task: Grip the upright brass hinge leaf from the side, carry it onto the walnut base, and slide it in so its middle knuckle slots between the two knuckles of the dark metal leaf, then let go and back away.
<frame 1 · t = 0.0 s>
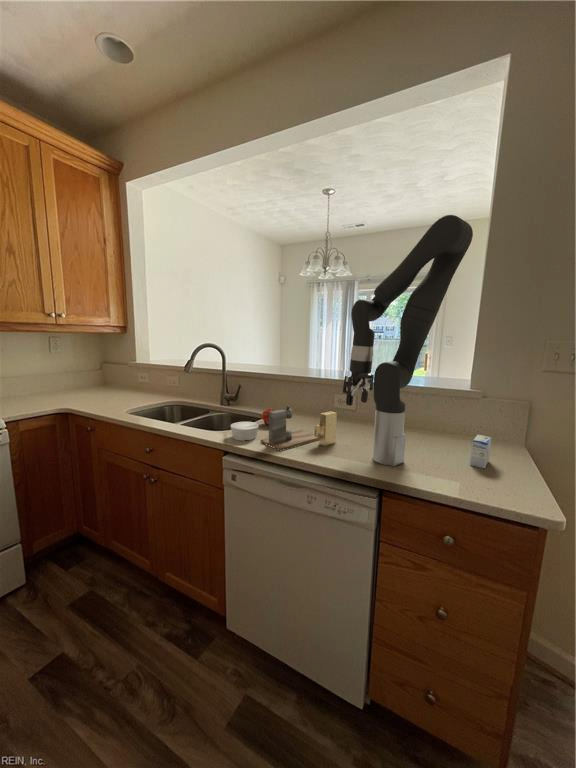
hand: (356, 403, 114), 17 cm above the counter, tool pointing down, fingers open, 8 cm apart
brass leaf: (327, 443, 123), on the counter
dragon fruit: (272, 425, 147), on the counter
hinge base: (287, 441, 124), on the counter
medicine box: (479, 463, 106), on the counter
ramekin: (244, 438, 129), on the counter
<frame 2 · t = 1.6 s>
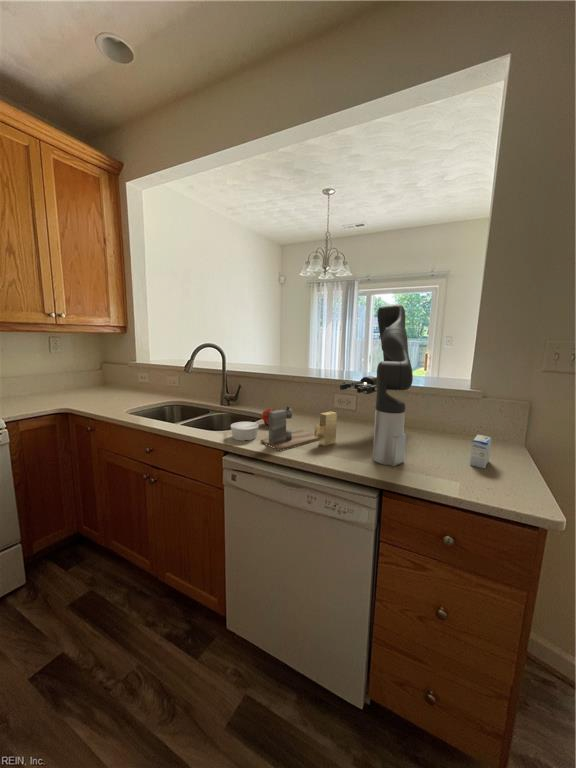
hand: (349, 388, 128), 20 cm above the counter, tool horizontal, fingers open, 8 cm apart
nothing on the counter moved.
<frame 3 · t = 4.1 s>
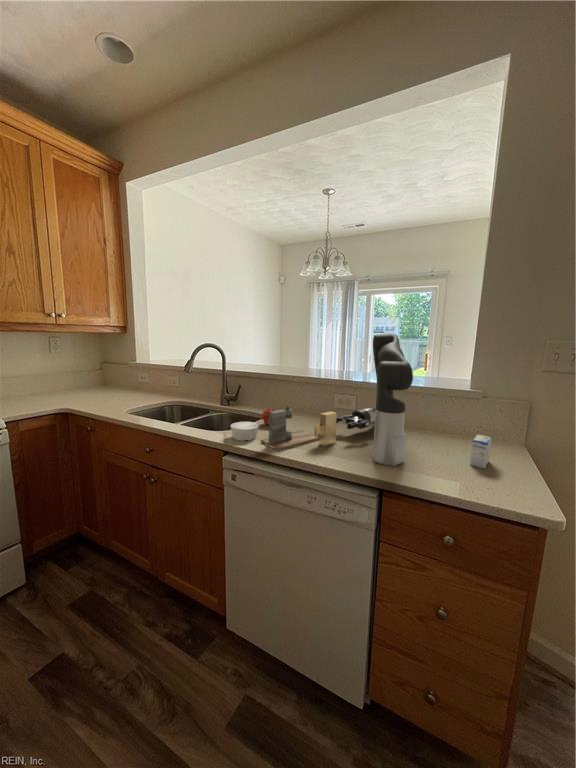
hand: (339, 424, 126), 7 cm above the counter, tool horizontal, fingers open, 8 cm apart
nothing on the counter moved.
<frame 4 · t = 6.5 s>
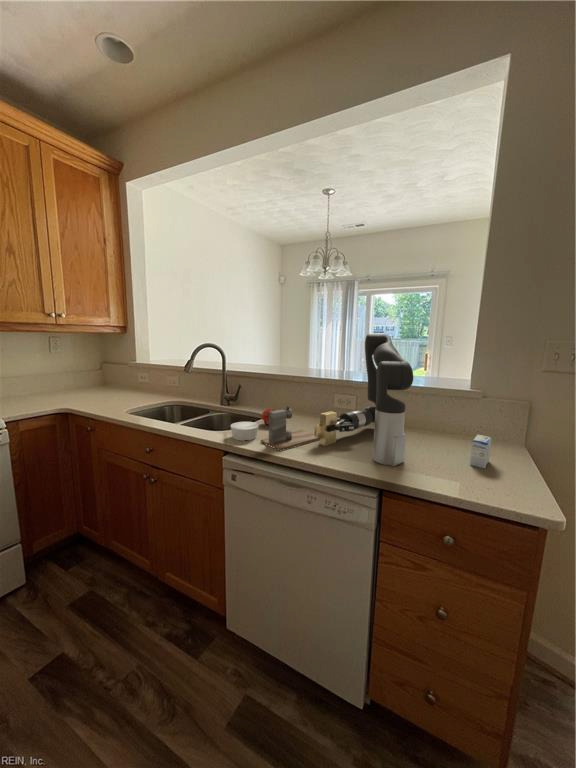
hand: (324, 428, 120), 7 cm above the counter, tool horizontal, fingers closed on brass leaf, 3 cm apart
brass leaf: (327, 443, 123), on the counter, touching gripper
everything else where it was.
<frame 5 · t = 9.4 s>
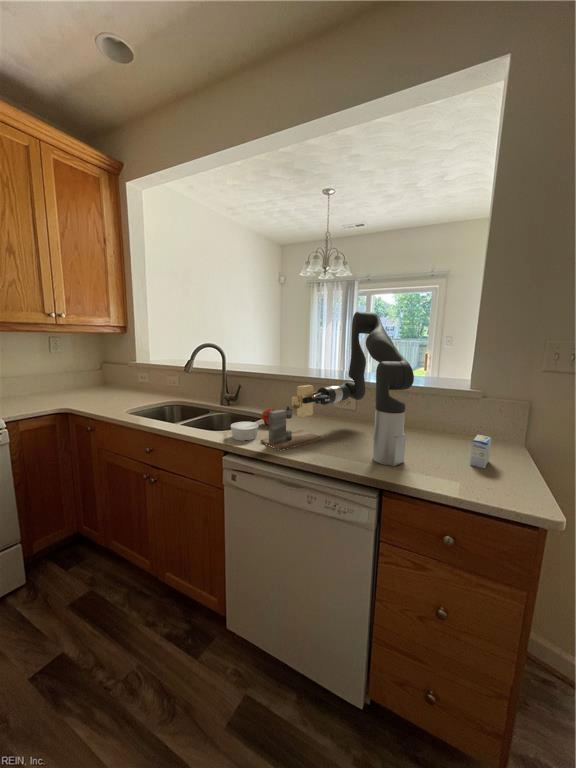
hand: (300, 400, 126), 16 cm above the counter, tool horizontal, fingers closed on brass leaf, 3 cm apart
brass leaf: (304, 415, 129), point 9 cm above the counter, touching gripper
everything else where it was.
when the fingers open (8 cm above the counter, at t = 12.3 s): brass leaf stays where it is, resting on hinge base.
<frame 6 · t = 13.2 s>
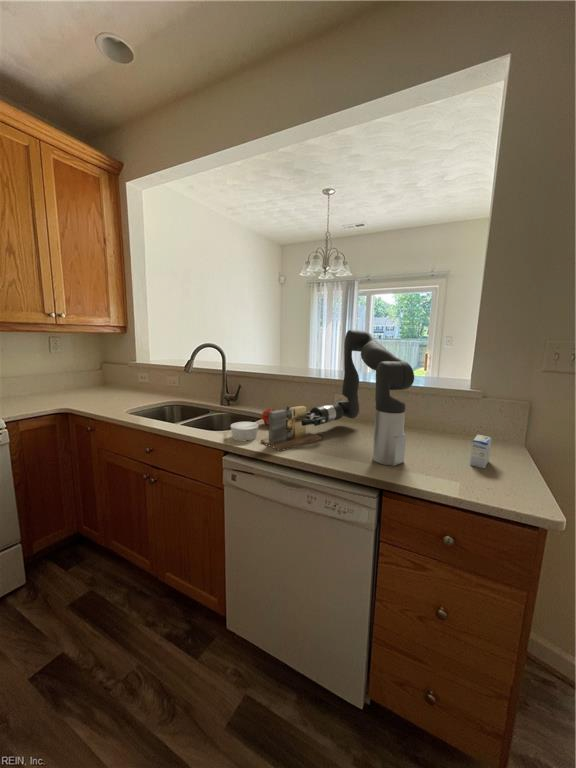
hand: (294, 420, 125), 8 cm above the counter, tool horizontal, fingers open, 8 cm apart
brass leaf: (297, 436, 127), point 1 cm above the counter, touching hinge base
everything else where it was.
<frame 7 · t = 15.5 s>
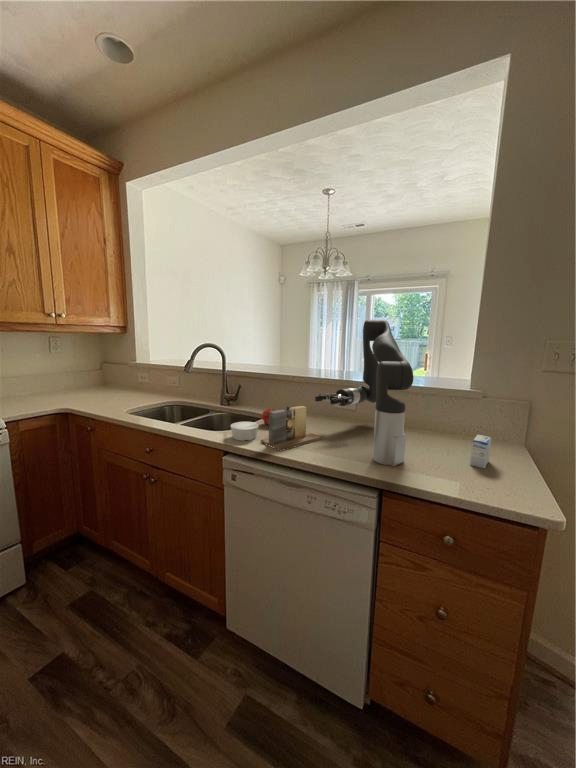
hand: (323, 400, 132), 15 cm above the counter, tool horizontal, fingers open, 8 cm apart
nothing on the counter moved.
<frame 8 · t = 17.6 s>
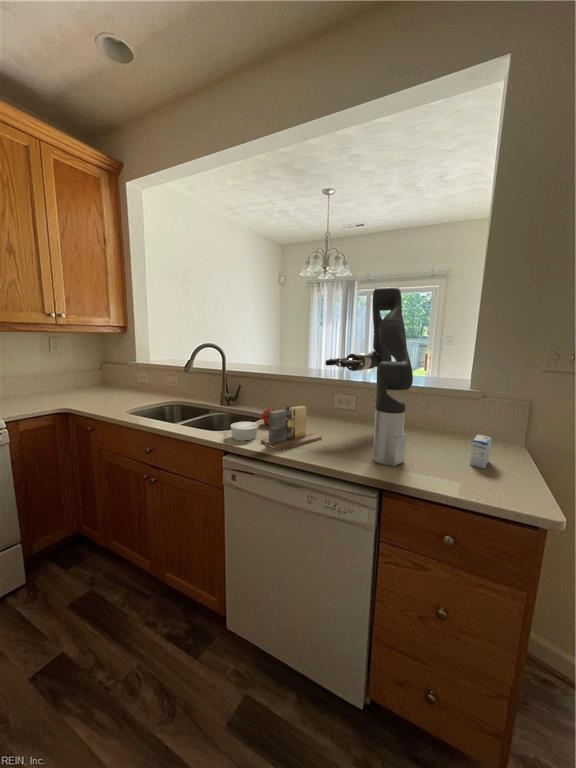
hand: (334, 363, 129), 30 cm above the counter, tool horizontal, fingers open, 8 cm apart
nothing on the counter moved.
at the end: brass leaf 0.2 cm from the target spot on the hinge base, point 1.0 cm above the hinge base's base; brass leaf tilted 0°; the gripper is holding nothing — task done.
